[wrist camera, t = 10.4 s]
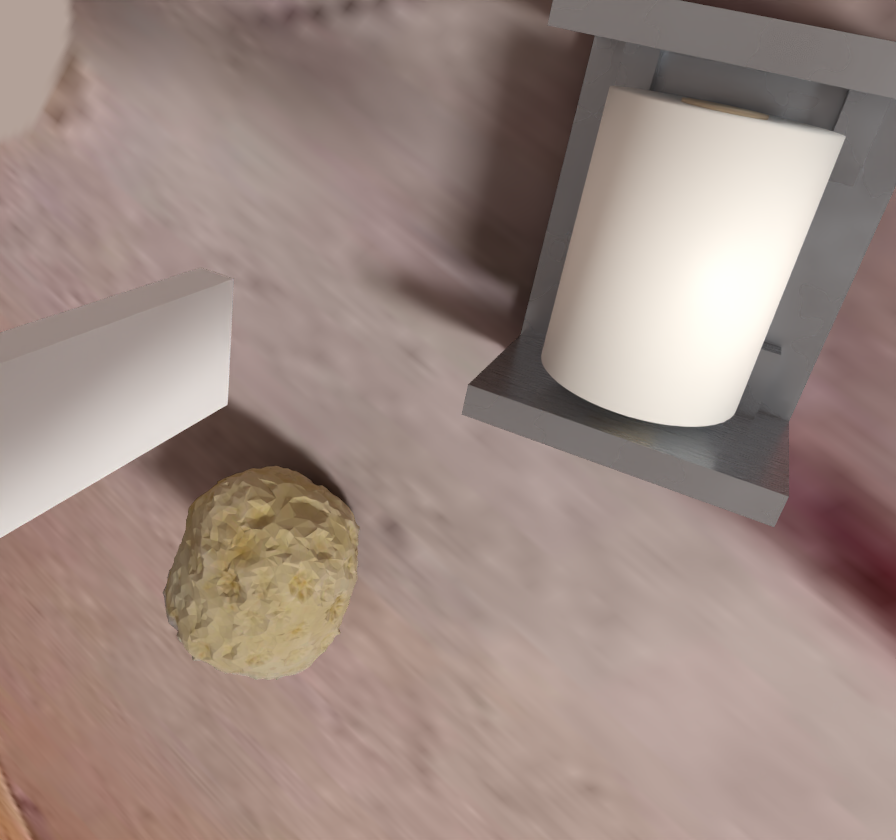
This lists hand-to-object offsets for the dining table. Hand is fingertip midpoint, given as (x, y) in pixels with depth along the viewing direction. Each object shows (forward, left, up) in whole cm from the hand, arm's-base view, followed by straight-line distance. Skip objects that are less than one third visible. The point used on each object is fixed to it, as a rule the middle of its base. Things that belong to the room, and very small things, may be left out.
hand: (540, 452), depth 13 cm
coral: (-13, -19, -19) cm, 30 cm away
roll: (0, +1, -14) cm, 14 cm away
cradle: (+1, +1, -19) cm, 19 cm away
